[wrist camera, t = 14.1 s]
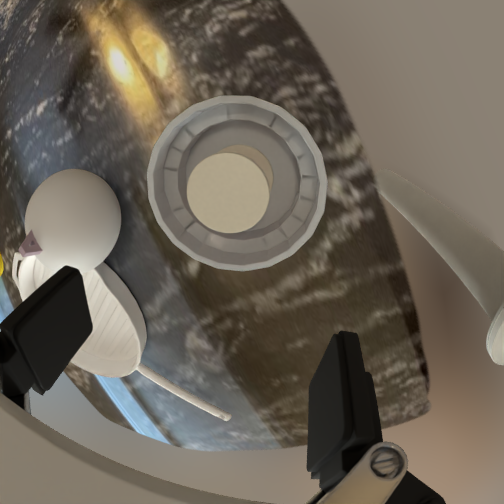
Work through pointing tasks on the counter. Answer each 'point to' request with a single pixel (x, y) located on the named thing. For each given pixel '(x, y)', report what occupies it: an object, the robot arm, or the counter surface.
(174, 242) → the bowl
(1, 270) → the yellow toilet paper roll
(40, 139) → the counter surface
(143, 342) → the pan
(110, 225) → the ornament
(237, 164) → the spool
